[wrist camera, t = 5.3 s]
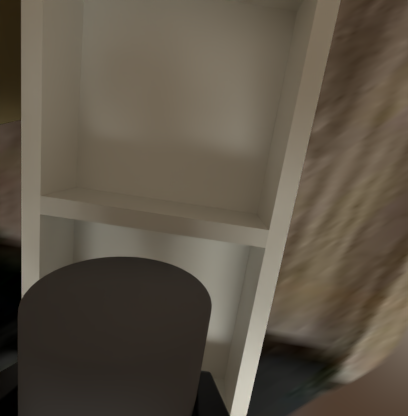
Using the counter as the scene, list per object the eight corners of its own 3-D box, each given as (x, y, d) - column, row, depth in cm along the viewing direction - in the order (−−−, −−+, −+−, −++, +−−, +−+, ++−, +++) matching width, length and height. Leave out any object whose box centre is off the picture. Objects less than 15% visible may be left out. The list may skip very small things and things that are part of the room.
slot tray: (232, 370, 13) (240, 442, 10) (69, 346, 13) (21, 411, 10) (305, 13, 10) (354, -58, 7) (85, -22, 10) (20, -112, 6)
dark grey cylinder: (184, 422, 9) (168, 623, 5) (71, 408, 9) (-32, 602, 5) (210, 267, 8) (214, 379, 4) (79, 248, 8) (-48, 345, 4)
